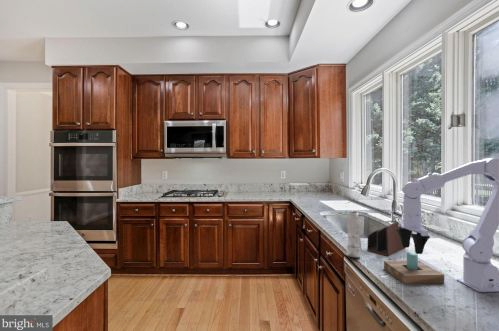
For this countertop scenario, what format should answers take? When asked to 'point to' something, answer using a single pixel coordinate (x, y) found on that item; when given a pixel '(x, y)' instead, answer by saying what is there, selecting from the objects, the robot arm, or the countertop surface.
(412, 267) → the peg
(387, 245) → the letter holder
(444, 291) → the countertop surface
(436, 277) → the socket block
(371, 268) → the countertop surface
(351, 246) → the plastic bottle
